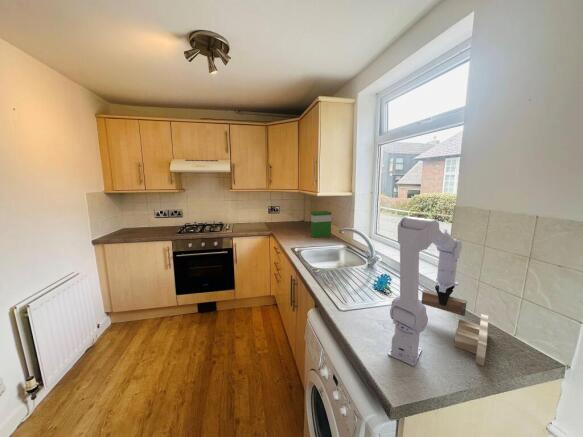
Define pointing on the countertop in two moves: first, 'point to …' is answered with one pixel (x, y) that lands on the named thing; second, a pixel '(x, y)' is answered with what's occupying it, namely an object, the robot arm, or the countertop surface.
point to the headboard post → (473, 337)
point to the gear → (382, 282)
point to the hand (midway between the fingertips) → (443, 303)
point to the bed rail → (452, 305)
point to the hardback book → (320, 224)
